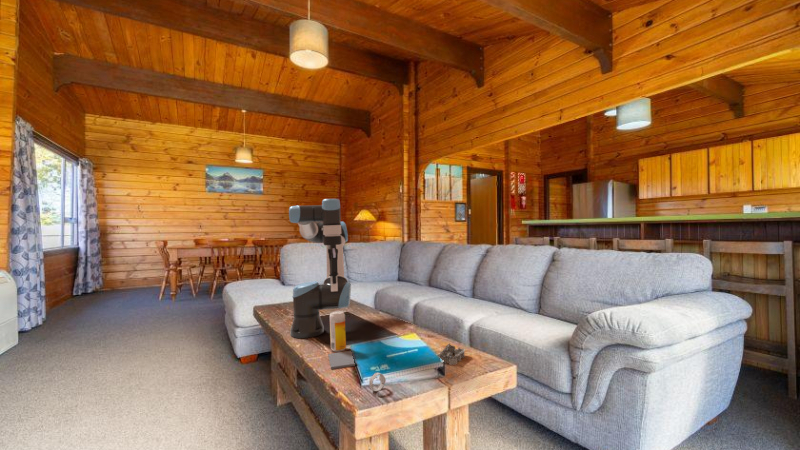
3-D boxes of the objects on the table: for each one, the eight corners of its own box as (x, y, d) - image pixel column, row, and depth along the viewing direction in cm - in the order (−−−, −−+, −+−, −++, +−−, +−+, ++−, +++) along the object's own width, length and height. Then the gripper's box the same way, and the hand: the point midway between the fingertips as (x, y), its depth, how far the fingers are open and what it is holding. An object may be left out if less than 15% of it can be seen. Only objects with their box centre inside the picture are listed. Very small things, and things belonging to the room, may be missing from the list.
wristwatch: (386, 388, 109) (385, 372, 109) (373, 394, 106) (373, 377, 106) (380, 385, 111) (379, 369, 111) (367, 391, 108) (367, 375, 108)
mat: (328, 355, 138) (328, 353, 138) (351, 352, 140) (351, 350, 140) (331, 369, 125) (331, 367, 125) (356, 365, 128) (356, 363, 128)
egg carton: (449, 353, 137) (449, 342, 137) (467, 356, 133) (467, 345, 133) (435, 362, 128) (435, 351, 128) (454, 367, 124) (454, 355, 124)
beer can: (349, 348, 145) (347, 311, 145) (339, 353, 140) (337, 315, 140) (337, 346, 148) (336, 309, 148) (327, 350, 143) (326, 313, 143)
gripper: (322, 235, 157) (324, 289, 157) (324, 236, 144) (326, 294, 145) (339, 234, 159) (341, 287, 159) (343, 235, 146) (345, 293, 147)
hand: (334, 290), depth 152 cm, fingers closed
